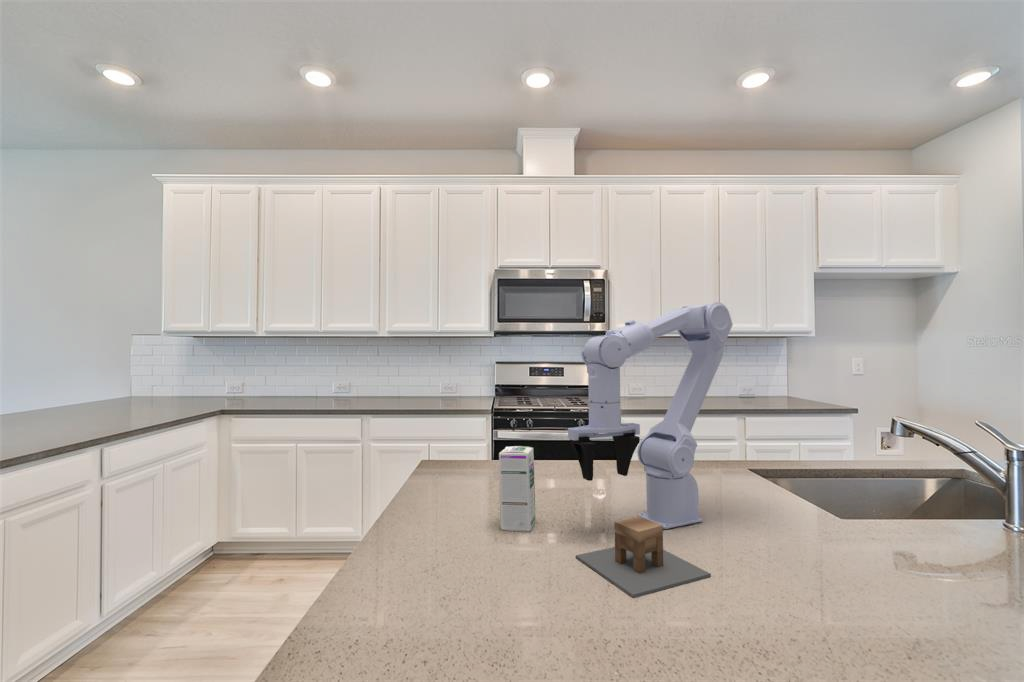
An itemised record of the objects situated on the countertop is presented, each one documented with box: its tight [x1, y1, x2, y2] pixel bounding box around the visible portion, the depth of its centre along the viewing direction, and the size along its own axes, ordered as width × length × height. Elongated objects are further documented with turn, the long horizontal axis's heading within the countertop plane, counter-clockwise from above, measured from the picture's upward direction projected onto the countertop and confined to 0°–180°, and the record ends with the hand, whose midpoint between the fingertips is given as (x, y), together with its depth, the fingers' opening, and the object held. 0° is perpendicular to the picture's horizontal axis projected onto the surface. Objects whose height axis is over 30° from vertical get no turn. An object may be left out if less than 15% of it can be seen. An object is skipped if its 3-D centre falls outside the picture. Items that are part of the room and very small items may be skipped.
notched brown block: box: [614, 515, 664, 574], centre depth 73 cm, size 5×5×6 cm
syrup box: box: [498, 445, 536, 533], centre depth 91 cm, size 6×6×14 cm
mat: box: [575, 546, 712, 599], centre depth 73 cm, size 14×14×1 cm
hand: (605, 477), depth 87 cm, fingers open, 7 cm apart
